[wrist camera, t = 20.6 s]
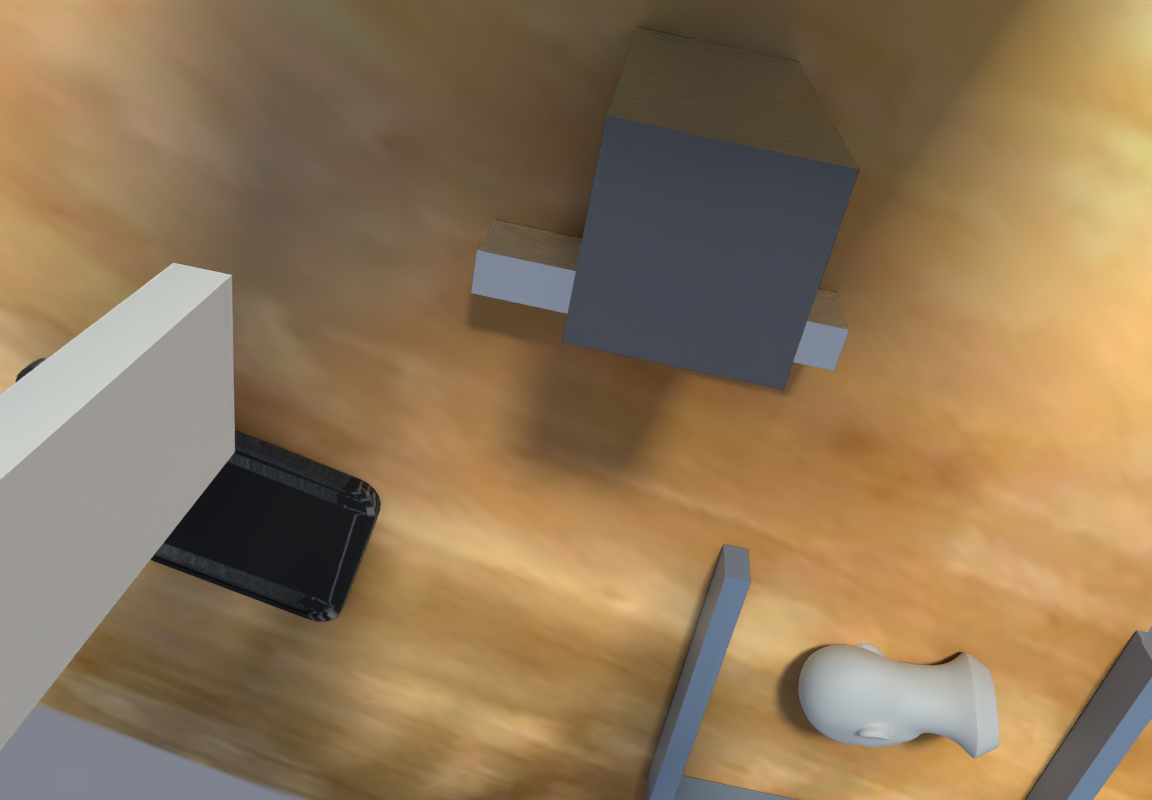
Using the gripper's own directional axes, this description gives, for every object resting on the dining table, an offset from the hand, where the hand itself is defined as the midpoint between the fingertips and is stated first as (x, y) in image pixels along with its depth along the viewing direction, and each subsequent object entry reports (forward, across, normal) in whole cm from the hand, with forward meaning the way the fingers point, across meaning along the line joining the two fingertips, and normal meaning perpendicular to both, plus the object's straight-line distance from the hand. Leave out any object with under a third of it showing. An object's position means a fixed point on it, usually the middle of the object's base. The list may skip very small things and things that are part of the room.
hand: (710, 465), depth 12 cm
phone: (+20, -17, -19) cm, 33 cm away
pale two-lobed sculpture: (+20, +13, -21) cm, 32 cm away
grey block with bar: (+20, 0, -2) cm, 20 cm away
